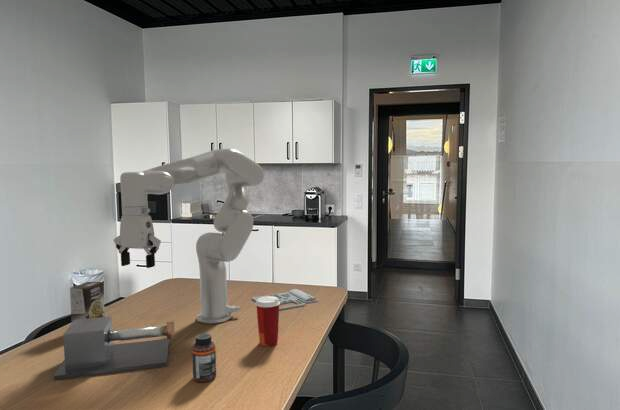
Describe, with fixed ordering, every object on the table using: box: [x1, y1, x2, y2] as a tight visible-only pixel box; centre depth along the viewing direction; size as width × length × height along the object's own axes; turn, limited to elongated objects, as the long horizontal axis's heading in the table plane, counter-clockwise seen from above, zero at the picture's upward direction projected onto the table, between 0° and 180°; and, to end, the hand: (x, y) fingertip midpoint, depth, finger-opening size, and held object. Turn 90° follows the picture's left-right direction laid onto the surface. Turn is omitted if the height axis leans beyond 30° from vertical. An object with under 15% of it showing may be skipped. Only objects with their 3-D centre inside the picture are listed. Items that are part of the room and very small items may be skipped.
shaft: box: [107, 320, 176, 343], centre depth 127 cm, size 22×5×5 cm, turn 105°
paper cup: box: [254, 296, 281, 347], centre depth 136 cm, size 8×8×14 cm
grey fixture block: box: [53, 316, 170, 381], centre depth 126 cm, size 28×18×11 cm, turn 105°
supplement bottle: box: [191, 333, 217, 383], centre depth 114 cm, size 6×6×11 cm
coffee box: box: [69, 281, 106, 323], centre depth 149 cm, size 9×6×16 cm
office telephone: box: [251, 288, 319, 312], centre depth 181 cm, size 23×3×20 cm
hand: (138, 266), depth 137 cm, fingers open, 9 cm apart
